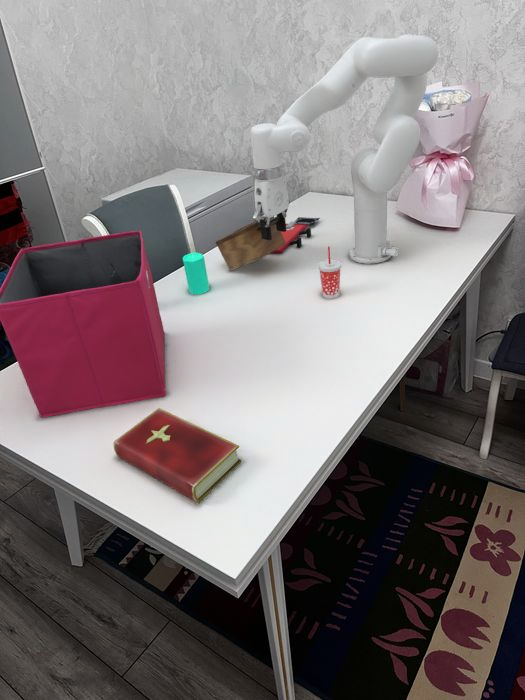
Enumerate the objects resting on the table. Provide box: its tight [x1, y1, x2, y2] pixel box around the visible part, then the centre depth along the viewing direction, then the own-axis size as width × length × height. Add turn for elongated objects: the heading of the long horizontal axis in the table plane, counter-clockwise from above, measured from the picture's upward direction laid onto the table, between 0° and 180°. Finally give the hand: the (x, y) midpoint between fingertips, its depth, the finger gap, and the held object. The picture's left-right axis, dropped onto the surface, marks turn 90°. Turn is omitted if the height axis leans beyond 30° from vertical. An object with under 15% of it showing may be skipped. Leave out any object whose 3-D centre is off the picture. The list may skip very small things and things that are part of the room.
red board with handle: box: [270, 216, 321, 255], centre depth 190 cm, size 30×3×15 cm
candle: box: [182, 251, 210, 295], centre depth 160 cm, size 6×6×12 cm
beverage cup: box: [317, 246, 342, 300], centre depth 148 cm, size 6×6×14 cm
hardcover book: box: [113, 407, 243, 504], centre depth 102 cm, size 12×21×4 cm, turn 52°
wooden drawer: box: [215, 215, 286, 271], centre depth 167 cm, size 20×13×10 cm, turn 50°
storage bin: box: [0, 230, 167, 419], centre depth 123 cm, size 28×29×28 cm
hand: (274, 234), depth 161 cm, fingers closed on wooden drawer, 6 cm apart
